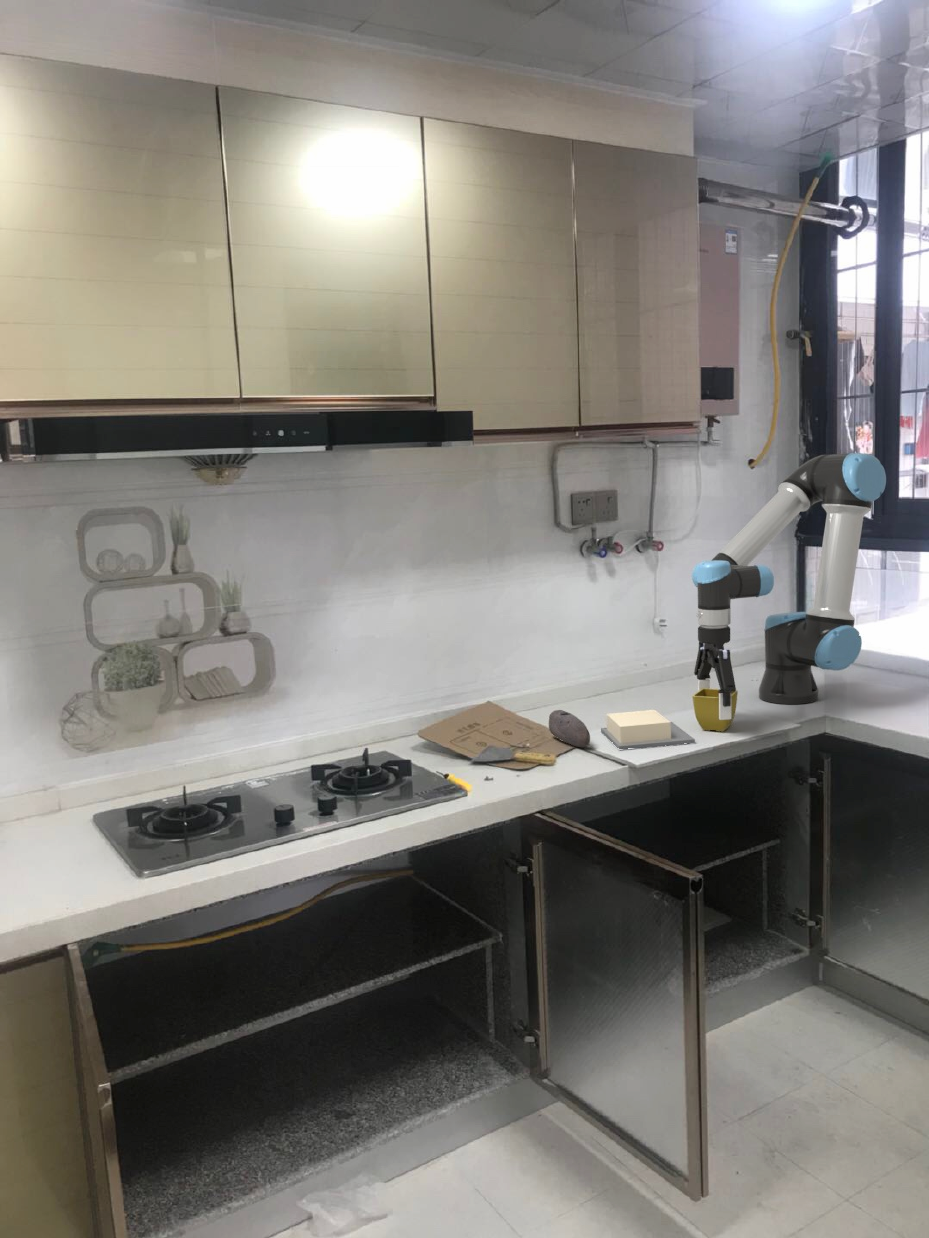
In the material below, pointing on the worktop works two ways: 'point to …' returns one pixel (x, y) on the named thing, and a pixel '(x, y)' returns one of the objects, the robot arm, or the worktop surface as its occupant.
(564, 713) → the perforated stone tool
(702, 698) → the flower pot
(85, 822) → the worktop surface
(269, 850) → the worktop surface
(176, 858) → the worktop surface
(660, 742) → the display base
